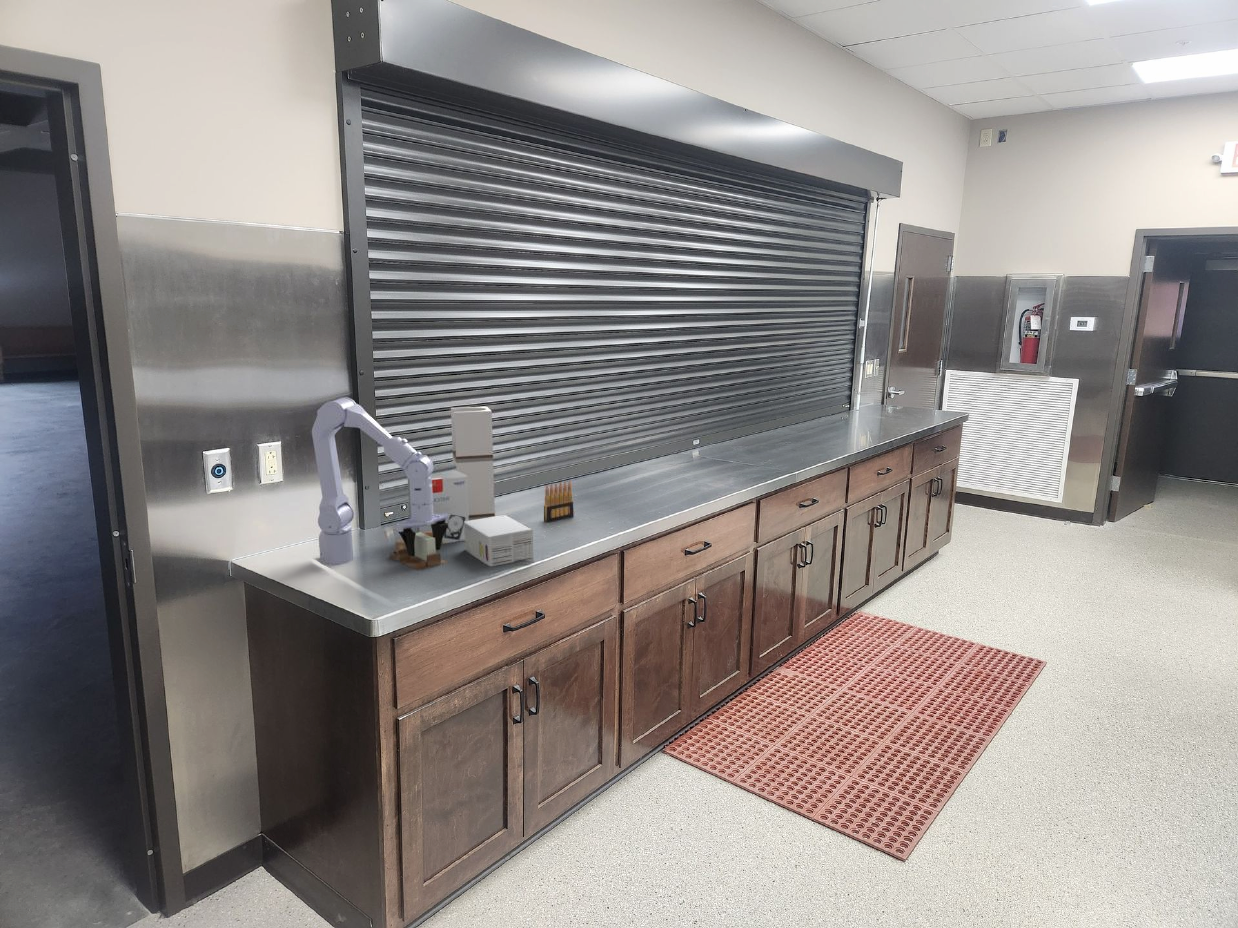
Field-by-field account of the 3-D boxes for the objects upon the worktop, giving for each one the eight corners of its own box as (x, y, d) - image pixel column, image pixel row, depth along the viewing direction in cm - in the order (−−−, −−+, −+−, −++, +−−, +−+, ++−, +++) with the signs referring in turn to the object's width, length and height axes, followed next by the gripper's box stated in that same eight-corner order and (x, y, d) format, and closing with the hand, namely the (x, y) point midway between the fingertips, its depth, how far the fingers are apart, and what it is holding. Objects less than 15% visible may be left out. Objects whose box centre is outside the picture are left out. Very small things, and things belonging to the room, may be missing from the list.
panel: (413, 558, 214) (412, 533, 213) (421, 556, 216) (420, 532, 214) (428, 565, 209) (426, 540, 207) (436, 563, 210) (435, 538, 209)
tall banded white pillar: (489, 510, 265) (486, 406, 258) (495, 519, 255) (491, 411, 248) (455, 513, 262) (450, 408, 255) (458, 522, 252) (454, 412, 245)
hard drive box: (418, 550, 224) (414, 481, 220) (409, 543, 230) (406, 476, 226) (470, 541, 232) (468, 475, 228) (461, 535, 238) (458, 470, 234)
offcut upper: (396, 548, 216) (395, 541, 215) (415, 543, 220) (414, 536, 219) (402, 551, 213) (402, 543, 213) (421, 546, 218) (421, 538, 217)
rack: (389, 559, 216) (389, 546, 215) (419, 552, 222) (418, 539, 221) (418, 573, 205) (417, 559, 205) (448, 565, 211) (447, 551, 211)
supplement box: (464, 553, 222) (462, 520, 220) (507, 545, 229) (506, 514, 227) (489, 570, 208) (488, 536, 206) (534, 561, 215) (533, 528, 214)
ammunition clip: (547, 522, 252) (546, 485, 249) (543, 521, 253) (542, 484, 251) (573, 516, 259) (573, 480, 256) (570, 515, 260) (570, 479, 257)
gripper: (404, 510, 201) (407, 561, 204) (454, 500, 211) (456, 549, 214) (390, 505, 206) (393, 555, 209) (439, 495, 216) (442, 543, 219)
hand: (424, 552), depth 212 cm, fingers open, 7 cm apart
